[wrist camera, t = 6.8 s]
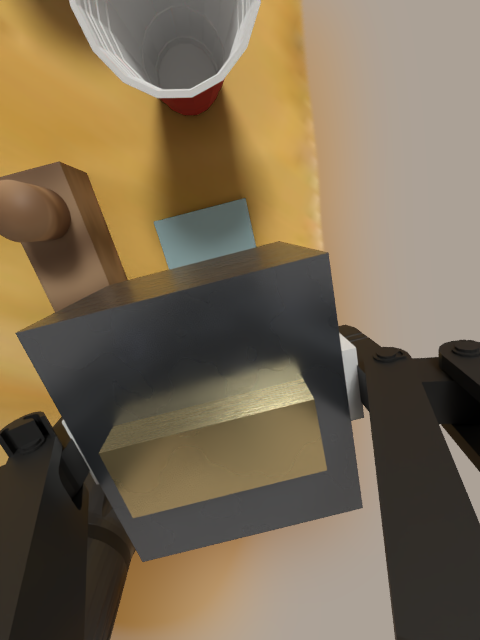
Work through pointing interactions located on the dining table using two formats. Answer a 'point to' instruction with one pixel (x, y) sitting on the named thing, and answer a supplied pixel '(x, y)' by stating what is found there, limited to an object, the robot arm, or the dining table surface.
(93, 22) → the plastic cup
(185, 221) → the rubber mat
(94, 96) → the dining table surface
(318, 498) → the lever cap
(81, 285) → the plane body
